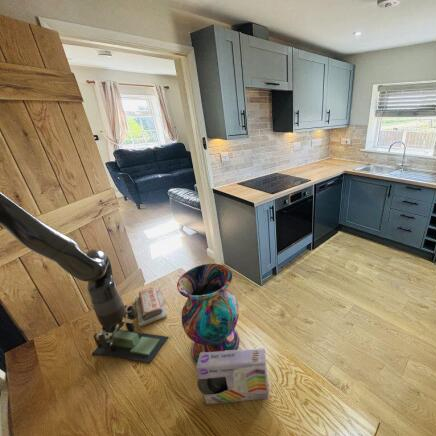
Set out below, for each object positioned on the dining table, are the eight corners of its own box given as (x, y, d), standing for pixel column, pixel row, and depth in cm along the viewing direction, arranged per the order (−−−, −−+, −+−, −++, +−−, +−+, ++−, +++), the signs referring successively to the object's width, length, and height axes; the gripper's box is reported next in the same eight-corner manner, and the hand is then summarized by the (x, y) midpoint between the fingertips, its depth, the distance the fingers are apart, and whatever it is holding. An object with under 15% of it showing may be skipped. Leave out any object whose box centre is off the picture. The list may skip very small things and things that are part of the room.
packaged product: (132, 292, 104) (158, 283, 109) (135, 300, 106) (160, 292, 111) (136, 319, 90) (165, 308, 96) (139, 328, 92) (167, 316, 98)
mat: (92, 353, 82) (92, 352, 82) (115, 329, 92) (115, 329, 91) (150, 362, 80) (149, 362, 80) (168, 337, 89) (168, 336, 89)
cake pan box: (201, 406, 68) (191, 366, 61) (206, 388, 73) (197, 349, 66) (268, 402, 70) (266, 362, 62) (268, 384, 74) (266, 345, 67)
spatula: (103, 348, 84) (99, 339, 82) (117, 334, 89) (113, 325, 87) (148, 355, 82) (145, 346, 80) (159, 340, 87) (157, 331, 85)
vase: (240, 320, 97) (234, 258, 84) (243, 362, 81) (236, 293, 68) (192, 328, 93) (179, 265, 80) (185, 375, 76) (167, 304, 64)
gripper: (116, 290, 85) (128, 323, 92) (78, 322, 73) (95, 357, 79) (135, 292, 85) (145, 325, 91) (100, 325, 72) (116, 360, 78)
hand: (122, 340), depth 85 cm, fingers open, 8 cm apart
